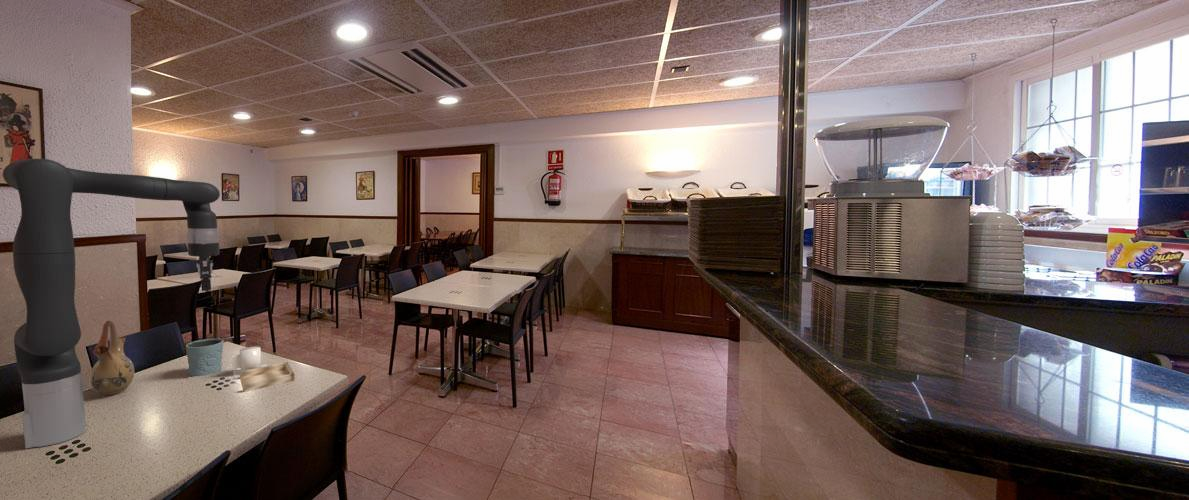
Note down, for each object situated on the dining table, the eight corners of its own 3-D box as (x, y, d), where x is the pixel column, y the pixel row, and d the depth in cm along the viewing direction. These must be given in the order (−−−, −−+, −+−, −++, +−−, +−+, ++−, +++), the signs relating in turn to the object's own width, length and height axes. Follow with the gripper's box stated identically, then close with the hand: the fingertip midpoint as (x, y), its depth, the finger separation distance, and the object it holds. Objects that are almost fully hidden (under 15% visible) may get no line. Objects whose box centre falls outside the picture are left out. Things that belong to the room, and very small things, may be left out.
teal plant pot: (195, 369, 149) (194, 339, 148) (229, 366, 153) (228, 337, 152) (181, 380, 140) (179, 348, 138) (217, 376, 144) (216, 345, 143)
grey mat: (234, 381, 140) (234, 379, 140) (232, 372, 147) (232, 371, 147) (270, 373, 148) (269, 372, 148) (266, 365, 154) (266, 364, 154)
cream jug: (233, 378, 141) (231, 354, 140) (231, 373, 145) (230, 350, 145) (262, 371, 147) (261, 349, 146) (260, 367, 151) (259, 345, 151)
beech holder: (243, 393, 132) (243, 385, 131) (240, 379, 142) (239, 371, 142) (294, 381, 142) (294, 373, 141) (287, 369, 152) (287, 362, 152)
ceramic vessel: (125, 398, 125) (119, 325, 123) (81, 406, 120) (74, 329, 117) (142, 380, 138) (137, 313, 136) (103, 386, 133) (97, 316, 130)
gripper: (187, 240, 131) (190, 286, 133) (187, 243, 121) (190, 293, 123) (217, 239, 137) (220, 284, 138) (219, 242, 127) (222, 290, 128)
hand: (206, 288), depth 131 cm, fingers open, 8 cm apart
